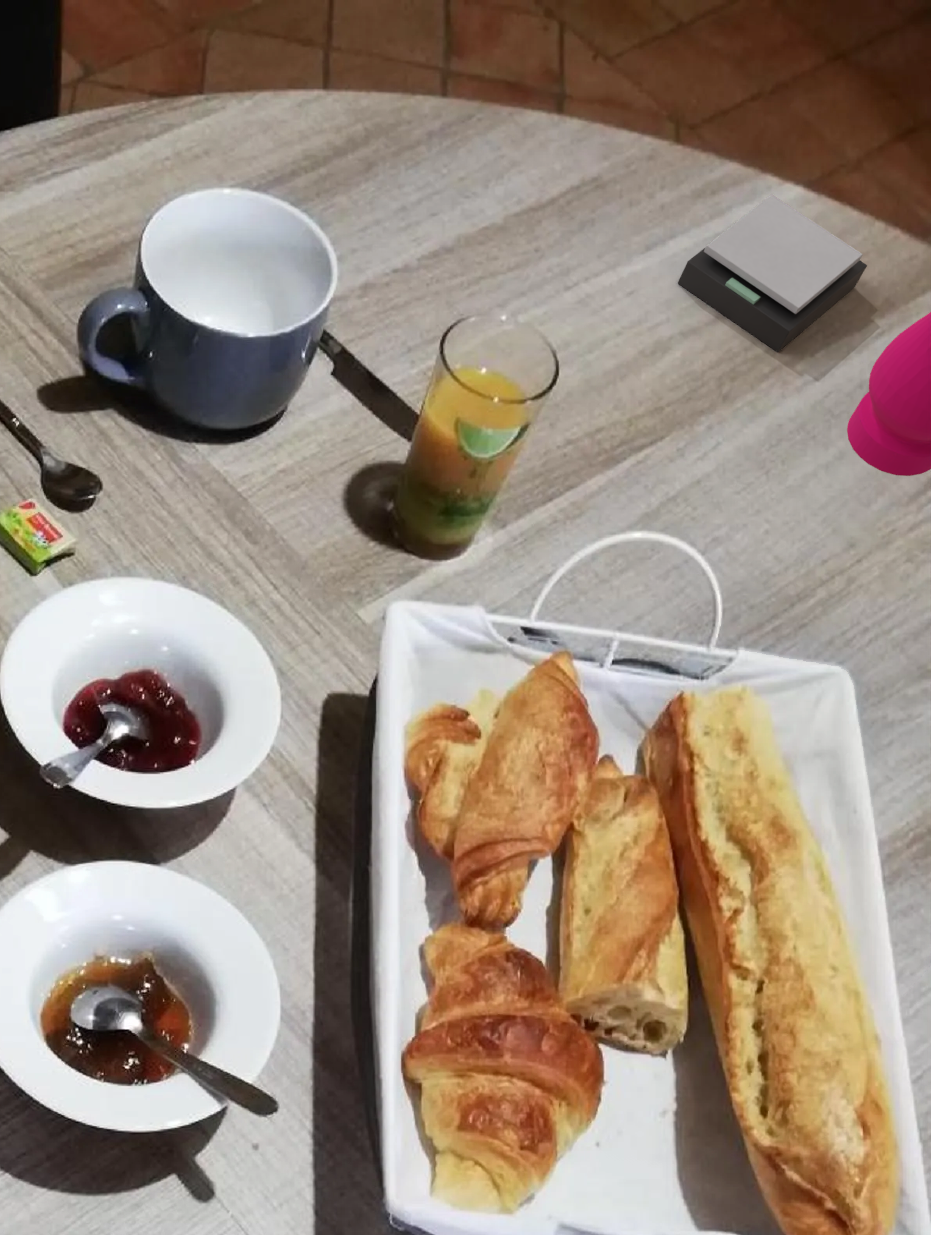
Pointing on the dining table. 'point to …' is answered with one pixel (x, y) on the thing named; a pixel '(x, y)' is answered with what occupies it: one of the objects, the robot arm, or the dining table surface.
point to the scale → (773, 272)
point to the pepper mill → (897, 406)
